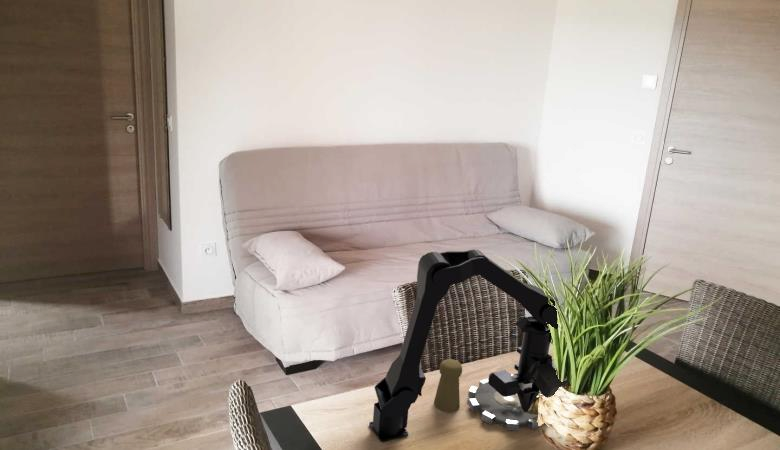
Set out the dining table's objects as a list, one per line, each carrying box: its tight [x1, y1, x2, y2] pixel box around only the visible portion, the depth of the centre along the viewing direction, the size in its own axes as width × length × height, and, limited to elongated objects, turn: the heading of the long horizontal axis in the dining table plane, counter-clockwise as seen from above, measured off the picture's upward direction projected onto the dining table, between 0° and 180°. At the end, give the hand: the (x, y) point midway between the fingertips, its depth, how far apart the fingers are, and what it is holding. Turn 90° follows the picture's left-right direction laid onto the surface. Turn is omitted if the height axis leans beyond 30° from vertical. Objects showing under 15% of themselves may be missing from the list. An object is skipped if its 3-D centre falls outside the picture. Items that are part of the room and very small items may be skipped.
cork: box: [433, 358, 463, 413], centre depth 133 cm, size 6×6×11 cm
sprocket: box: [467, 378, 541, 432], centre depth 134 cm, size 19×19×6 cm
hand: (524, 410), depth 129 cm, fingers closed
